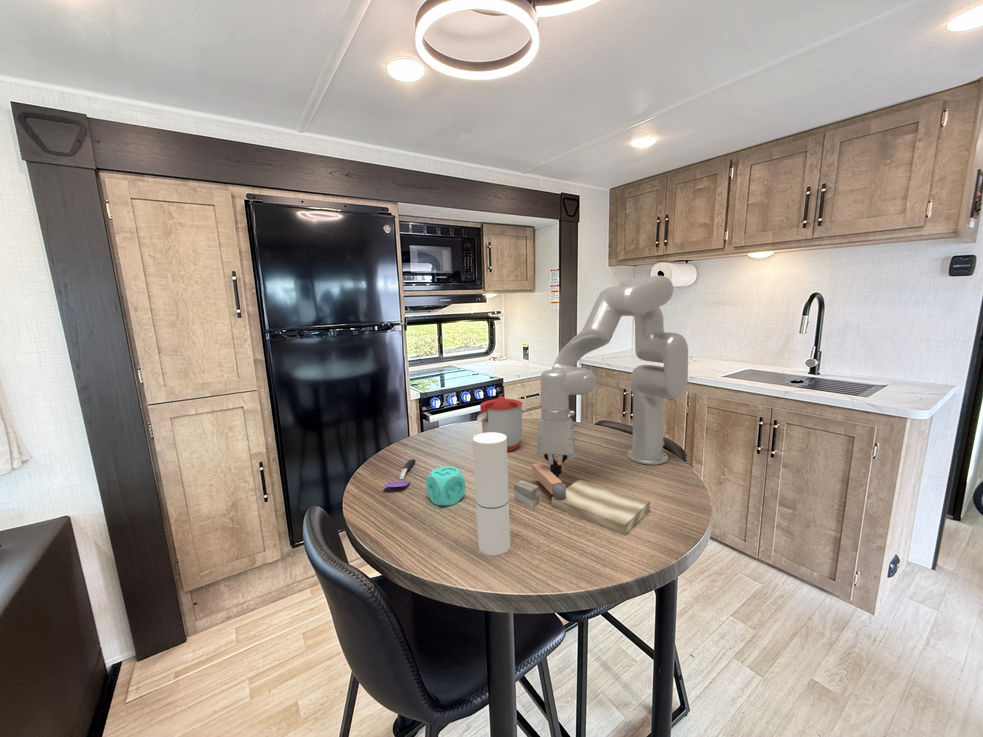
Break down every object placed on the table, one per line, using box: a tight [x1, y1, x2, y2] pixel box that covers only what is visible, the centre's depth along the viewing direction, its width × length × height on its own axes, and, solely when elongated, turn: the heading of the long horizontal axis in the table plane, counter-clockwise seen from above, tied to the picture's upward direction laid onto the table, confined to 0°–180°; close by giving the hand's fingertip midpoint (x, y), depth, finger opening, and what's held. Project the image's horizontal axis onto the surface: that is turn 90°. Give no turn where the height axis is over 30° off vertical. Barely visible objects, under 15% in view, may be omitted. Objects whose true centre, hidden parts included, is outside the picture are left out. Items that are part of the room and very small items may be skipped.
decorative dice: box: [425, 466, 466, 507], centre depth 108 cm, size 8×8×8 cm
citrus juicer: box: [476, 395, 523, 452], centre depth 145 cm, size 16×17×20 cm
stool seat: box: [513, 479, 651, 536], centre depth 102 cm, size 17×30×4 cm, turn 46°
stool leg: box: [531, 462, 567, 499], centre depth 108 cm, size 17×3×3 cm, turn 16°
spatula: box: [382, 458, 416, 488], centre depth 125 cm, size 24×7×2 cm, turn 178°
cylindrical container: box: [472, 432, 511, 557], centre depth 85 cm, size 7×7×25 cm
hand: (556, 476), depth 112 cm, fingers closed
